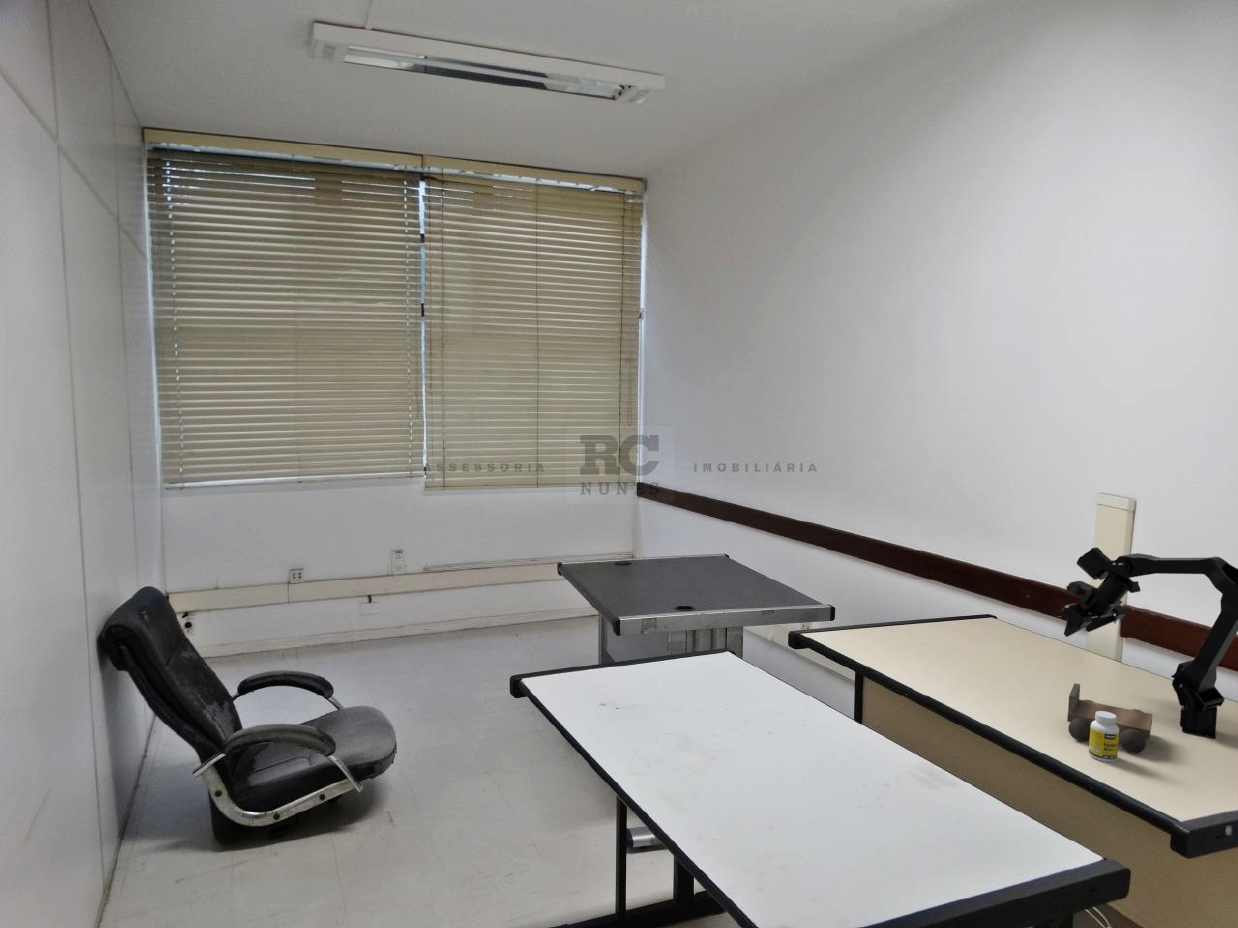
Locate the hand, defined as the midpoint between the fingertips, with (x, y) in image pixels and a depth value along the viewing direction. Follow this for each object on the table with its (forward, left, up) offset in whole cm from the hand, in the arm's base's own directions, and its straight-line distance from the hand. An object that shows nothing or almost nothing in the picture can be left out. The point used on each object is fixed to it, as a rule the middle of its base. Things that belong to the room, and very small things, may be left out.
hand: (1076, 633), depth 217 cm
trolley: (-11, +31, -15) cm, 36 cm away
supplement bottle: (-11, +44, -15) cm, 47 cm away
